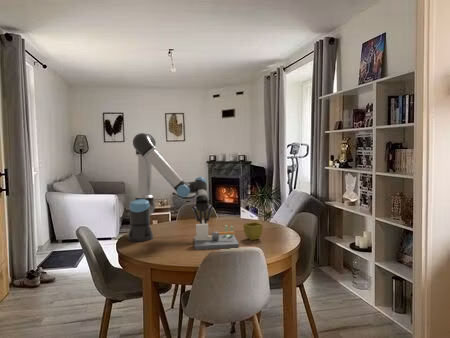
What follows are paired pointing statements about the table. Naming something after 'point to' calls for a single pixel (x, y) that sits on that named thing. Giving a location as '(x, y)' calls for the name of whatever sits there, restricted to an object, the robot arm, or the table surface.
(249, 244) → the table surface
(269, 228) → the table surface
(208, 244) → the lever toy board
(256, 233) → the flower pot
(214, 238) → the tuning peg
